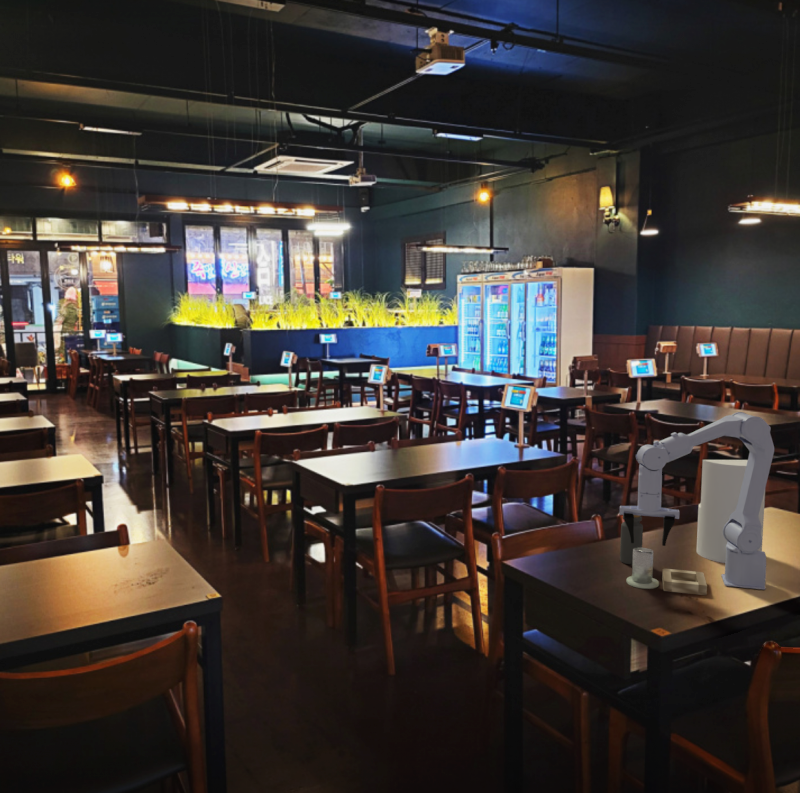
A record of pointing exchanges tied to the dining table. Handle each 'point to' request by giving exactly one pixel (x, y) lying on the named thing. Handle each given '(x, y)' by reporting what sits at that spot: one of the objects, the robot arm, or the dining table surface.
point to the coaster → (644, 586)
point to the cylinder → (719, 505)
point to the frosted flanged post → (642, 565)
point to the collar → (684, 581)
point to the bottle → (626, 544)
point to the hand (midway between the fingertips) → (648, 543)
